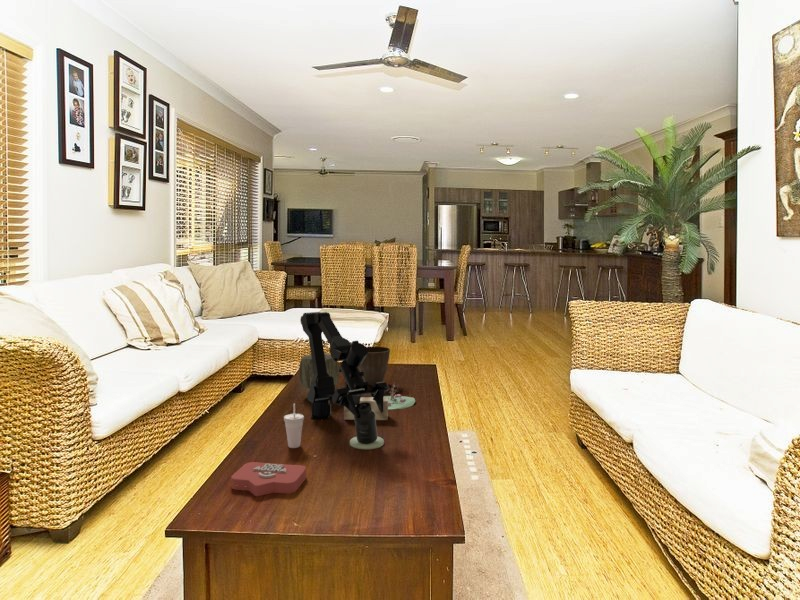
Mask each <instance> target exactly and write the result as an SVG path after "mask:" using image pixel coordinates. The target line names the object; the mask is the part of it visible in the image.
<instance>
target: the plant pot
mask: <svg viewBox="0 0 800 600" xmlns="http://www.w3.org/2000/svg"><path fill="white" fill-rule="evenodd" d="M366 347H367V349H368V354H367V355H366V357H365V359H364V361H363V363H362V364H361V365H360V366H359V368H360V371H361V372H363V373H364V375H363V378H364V380H365V382H368V386H372V387H373V386H374V384H375V383H377V382H384V379H385V375H386V373H387V370H388V365H389V364H388V363H389V361H390V360H389V359H390V354H391V353H390V352H391V349H390V348H388V347H385V346H366Z"/></svg>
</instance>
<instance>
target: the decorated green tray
mask: <svg viewBox="0 0 800 600" xmlns="http://www.w3.org/2000/svg"><path fill="white" fill-rule="evenodd" d="M395 382H396V381H394V382H393V385H391V388H390V387H389V388H388V389H387V391H386V392H388V391H389V394H390V395H384V397H383V398H388V411H389V410H393V411H394V410H403V409H407V408H411V407H412V406H414V404H415V403H416V399H415V397H411V396H404V395H402V394H395V393H396V392H398V390H399V386H400V384H399V383H398V384H395ZM395 388H396V389H395ZM370 397H371V398H373V397H372V396H370Z"/></svg>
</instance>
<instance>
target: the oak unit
mask: <svg viewBox="0 0 800 600" xmlns="http://www.w3.org/2000/svg"><path fill="white" fill-rule="evenodd" d="M371 397H372V396H370V397H369V396H368V397H365V396H363V397H362V396H361V398H360V403H364V402H366V403H370V404H371V409H372V411H373V412H374V413H375V417H376V421H389V420H388V418H389V409H388V398H383V413H381V412H380V410H379V408H378V406H377V404H376V401H374V400H373V398H371ZM360 403H359V404H360ZM356 406H357V405H356ZM343 420H344V421H345V420H347V421H348V420H349V421H352V420H353V421H354V415H353V414H352V413H351V412H350V411H349V410H348V409H347V408H346V407H345V406H343Z"/></svg>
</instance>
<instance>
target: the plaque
mask: <svg viewBox="0 0 800 600" xmlns="http://www.w3.org/2000/svg"><path fill="white" fill-rule="evenodd" d="M306 478H307V468H306V466H305V465H299V464H282V463H271V462H270V463H269V462H259V461H258V462H257V461H251V462H247V463H245V464H243V465H242V466H241V467H240V468H239V469H238V470H237V471H236V472H235V473H233V474H232V475H231V477H230V479H231V480H230V481H231V483H232V484H233V485H232V484H231V489H233V490H235V491H249V493H251V494H252V495H253V496H255V497H260V496H265V495H268V494H273V493H275V494H285V495H286V494H287V495H288V494H292V493H295V492H297V491H298V489H299V488H300V486H302V484H303V483H304V481H306ZM234 485H238V486H234ZM244 486H247V487H244Z"/></svg>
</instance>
